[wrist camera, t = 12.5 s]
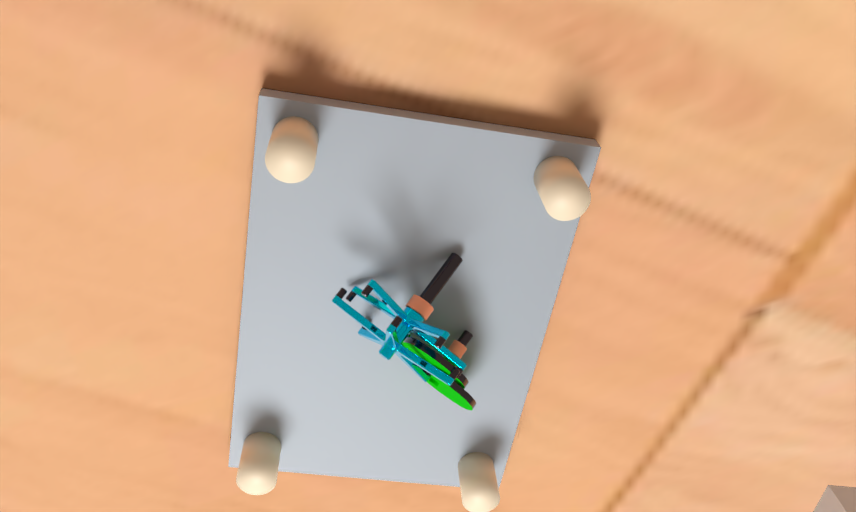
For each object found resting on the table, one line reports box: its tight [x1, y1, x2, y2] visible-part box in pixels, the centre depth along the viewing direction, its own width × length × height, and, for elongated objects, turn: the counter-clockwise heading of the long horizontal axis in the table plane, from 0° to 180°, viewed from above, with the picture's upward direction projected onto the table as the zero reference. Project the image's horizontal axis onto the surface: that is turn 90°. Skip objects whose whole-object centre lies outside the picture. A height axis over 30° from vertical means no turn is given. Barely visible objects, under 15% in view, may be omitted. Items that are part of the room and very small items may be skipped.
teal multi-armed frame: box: [332, 253, 476, 410], centre depth 45 cm, size 12×7×8 cm
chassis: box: [229, 88, 601, 512], centre depth 46 cm, size 18×25×4 cm
